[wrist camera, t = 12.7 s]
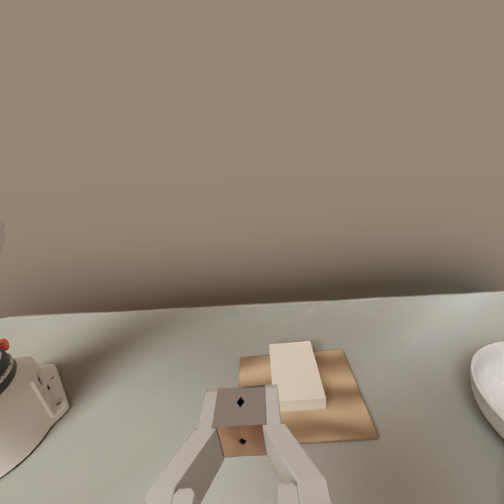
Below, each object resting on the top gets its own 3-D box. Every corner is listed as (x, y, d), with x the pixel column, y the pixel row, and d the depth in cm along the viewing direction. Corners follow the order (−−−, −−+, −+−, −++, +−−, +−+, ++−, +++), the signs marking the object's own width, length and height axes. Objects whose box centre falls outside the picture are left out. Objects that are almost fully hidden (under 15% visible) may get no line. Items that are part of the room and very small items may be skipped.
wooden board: (378, 439, 35) (378, 437, 35) (235, 447, 36) (234, 445, 36) (341, 351, 50) (342, 349, 50) (240, 359, 51) (240, 357, 51)
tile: (326, 398, 39) (310, 340, 50) (273, 401, 39) (269, 344, 50) (326, 409, 40) (310, 350, 51) (274, 412, 40) (270, 353, 51)
